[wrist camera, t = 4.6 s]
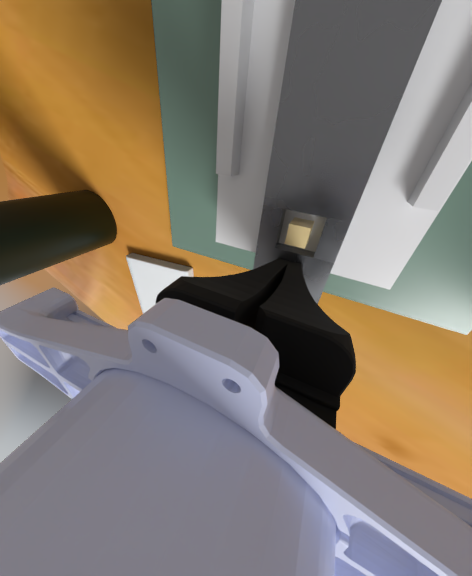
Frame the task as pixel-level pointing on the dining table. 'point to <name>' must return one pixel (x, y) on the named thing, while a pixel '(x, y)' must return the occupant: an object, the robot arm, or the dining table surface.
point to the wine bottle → (51, 231)
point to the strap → (336, 117)
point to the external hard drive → (153, 277)
